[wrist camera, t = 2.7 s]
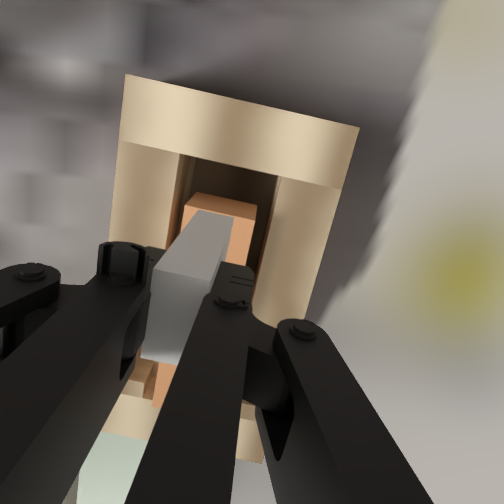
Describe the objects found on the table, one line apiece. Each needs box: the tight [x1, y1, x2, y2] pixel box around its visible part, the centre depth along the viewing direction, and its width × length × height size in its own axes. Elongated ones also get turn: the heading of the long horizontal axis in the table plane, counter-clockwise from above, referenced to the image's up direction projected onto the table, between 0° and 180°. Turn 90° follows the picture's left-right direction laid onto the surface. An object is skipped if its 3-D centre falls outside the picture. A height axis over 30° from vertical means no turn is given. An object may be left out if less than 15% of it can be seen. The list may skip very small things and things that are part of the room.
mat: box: [76, 431, 148, 504], centre depth 40 cm, size 12×14×1 cm
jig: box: [101, 74, 360, 464], centre depth 29 cm, size 13×24×6 cm, turn 168°
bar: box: [152, 192, 257, 408], centre depth 27 cm, size 4×14×4 cm, turn 168°
